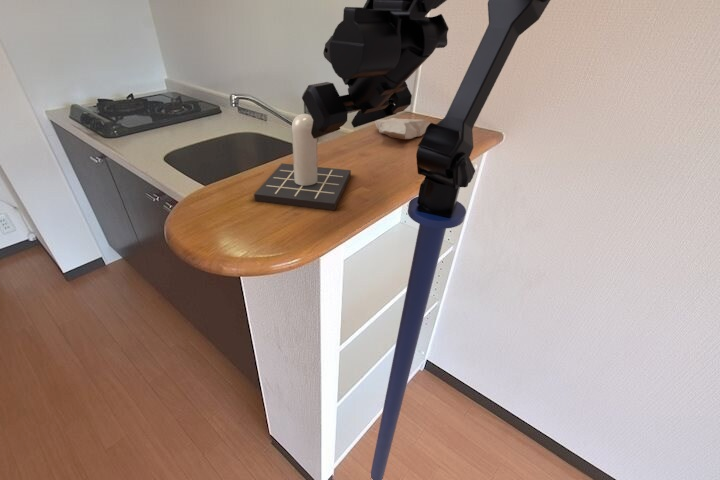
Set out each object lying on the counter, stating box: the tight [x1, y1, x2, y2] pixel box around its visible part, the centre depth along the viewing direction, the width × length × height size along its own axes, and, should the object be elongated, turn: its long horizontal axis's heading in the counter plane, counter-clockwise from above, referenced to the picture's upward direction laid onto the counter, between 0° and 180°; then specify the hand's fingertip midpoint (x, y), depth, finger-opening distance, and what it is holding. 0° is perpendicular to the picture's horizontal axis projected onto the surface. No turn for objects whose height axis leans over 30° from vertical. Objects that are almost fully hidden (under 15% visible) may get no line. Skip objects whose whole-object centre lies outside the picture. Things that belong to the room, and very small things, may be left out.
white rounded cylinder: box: [291, 113, 319, 186], centre depth 68 cm, size 5×5×13 cm
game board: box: [253, 162, 352, 211], centre depth 73 cm, size 16×16×2 cm
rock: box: [374, 117, 431, 140], centre depth 99 cm, size 21×5×15 cm
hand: (333, 130), depth 60 cm, fingers open, 9 cm apart
